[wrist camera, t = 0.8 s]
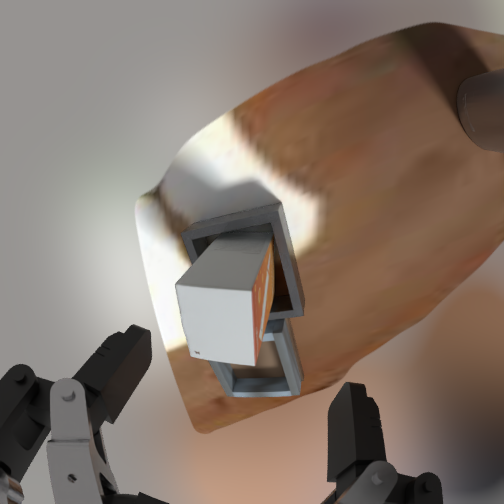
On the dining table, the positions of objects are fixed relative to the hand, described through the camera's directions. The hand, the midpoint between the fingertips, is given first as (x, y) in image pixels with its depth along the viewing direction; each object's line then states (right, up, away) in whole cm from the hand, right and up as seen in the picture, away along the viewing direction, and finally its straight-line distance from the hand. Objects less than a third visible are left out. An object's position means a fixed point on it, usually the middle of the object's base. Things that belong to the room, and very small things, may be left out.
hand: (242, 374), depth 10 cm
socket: (0, +4, +23) cm, 23 cm away
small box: (0, +4, +23) cm, 24 cm away
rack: (+1, -10, +29) cm, 30 cm away
